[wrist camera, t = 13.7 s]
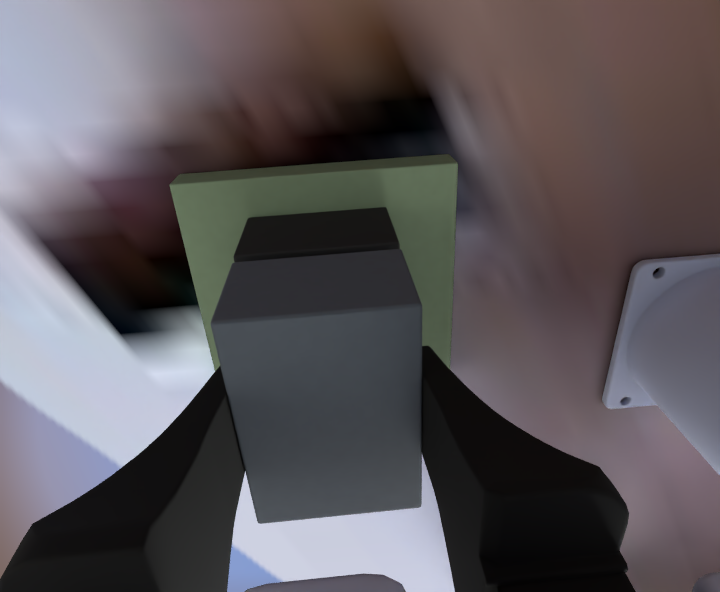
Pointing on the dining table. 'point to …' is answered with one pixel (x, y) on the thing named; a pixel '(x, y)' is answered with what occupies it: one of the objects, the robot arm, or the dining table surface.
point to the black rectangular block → (316, 234)
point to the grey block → (324, 382)
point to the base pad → (322, 194)
